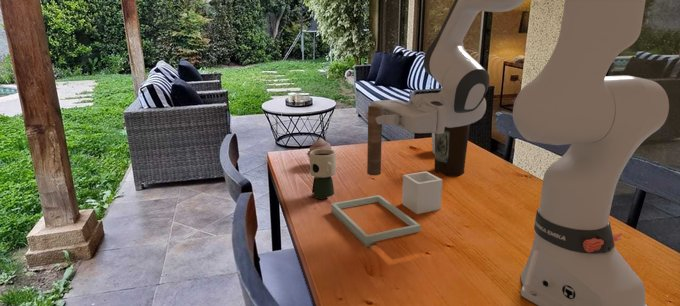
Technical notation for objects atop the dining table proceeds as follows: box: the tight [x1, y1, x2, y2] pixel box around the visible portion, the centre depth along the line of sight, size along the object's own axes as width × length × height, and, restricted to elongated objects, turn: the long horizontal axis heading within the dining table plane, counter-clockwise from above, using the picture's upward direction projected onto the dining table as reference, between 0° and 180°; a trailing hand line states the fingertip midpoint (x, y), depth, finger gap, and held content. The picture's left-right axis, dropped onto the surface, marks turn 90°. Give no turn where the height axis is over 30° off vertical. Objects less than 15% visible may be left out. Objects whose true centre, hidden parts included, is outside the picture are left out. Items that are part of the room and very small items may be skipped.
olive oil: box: [434, 124, 471, 177], centre depth 143 cm, size 11×11×25 cm
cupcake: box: [306, 137, 332, 159], centre depth 151 cm, size 9×9×10 cm
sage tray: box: [330, 194, 422, 248], centre depth 110 cm, size 20×14×2 cm
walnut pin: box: [366, 105, 383, 176], centre depth 105 cm, size 3×3×16 cm
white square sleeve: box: [401, 170, 443, 215], centre depth 117 cm, size 7×7×9 cm
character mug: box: [309, 149, 337, 200], centre depth 125 cm, size 11×7×13 cm, turn 26°
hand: (371, 117), depth 103 cm, fingers closed on walnut pin, 3 cm apart
